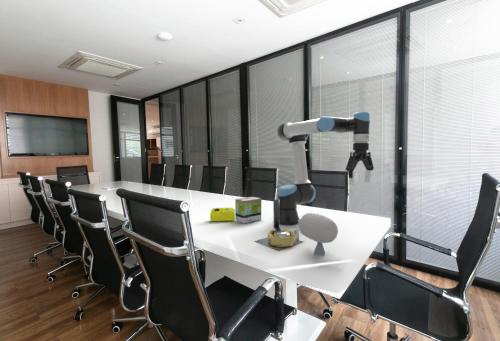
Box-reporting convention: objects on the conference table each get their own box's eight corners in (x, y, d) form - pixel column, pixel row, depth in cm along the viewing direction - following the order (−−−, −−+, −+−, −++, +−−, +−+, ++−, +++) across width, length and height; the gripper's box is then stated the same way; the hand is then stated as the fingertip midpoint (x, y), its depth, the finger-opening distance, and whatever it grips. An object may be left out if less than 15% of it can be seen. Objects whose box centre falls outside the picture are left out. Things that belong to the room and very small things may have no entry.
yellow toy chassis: (234, 219, 172) (234, 207, 172) (234, 221, 166) (234, 209, 166) (211, 220, 171) (210, 207, 171) (210, 222, 166) (210, 209, 165)
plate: (253, 243, 125) (253, 231, 125) (279, 235, 137) (279, 224, 136) (278, 253, 112) (278, 240, 112) (304, 243, 124) (304, 231, 123)
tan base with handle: (299, 245, 118) (299, 204, 117) (273, 247, 115) (273, 206, 114) (286, 234, 134) (286, 198, 132) (263, 236, 131) (263, 199, 130)
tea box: (244, 224, 160) (244, 200, 159) (235, 221, 168) (234, 198, 167) (262, 219, 170) (261, 197, 169) (252, 217, 178) (251, 196, 177)
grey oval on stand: (327, 244, 122) (327, 208, 120) (341, 262, 102) (341, 219, 101) (295, 245, 122) (295, 209, 121) (303, 262, 102) (303, 220, 101)
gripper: (351, 142, 122) (350, 185, 124) (381, 142, 135) (380, 182, 137) (338, 142, 128) (337, 184, 130) (368, 143, 141) (367, 180, 143)
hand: (359, 183), depth 133 cm, fingers open, 13 cm apart
